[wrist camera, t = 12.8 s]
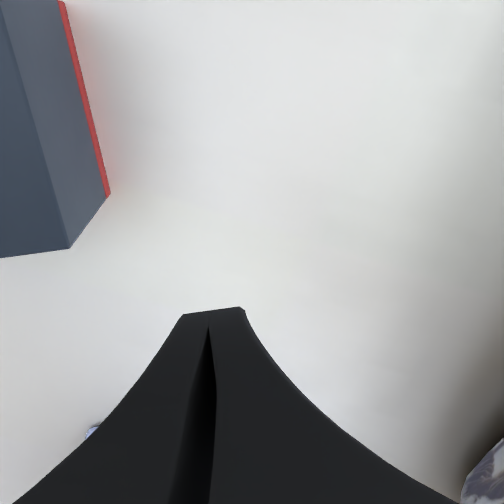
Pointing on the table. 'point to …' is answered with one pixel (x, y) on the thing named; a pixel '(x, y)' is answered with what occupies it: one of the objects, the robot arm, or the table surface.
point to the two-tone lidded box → (44, 133)
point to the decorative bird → (486, 479)
